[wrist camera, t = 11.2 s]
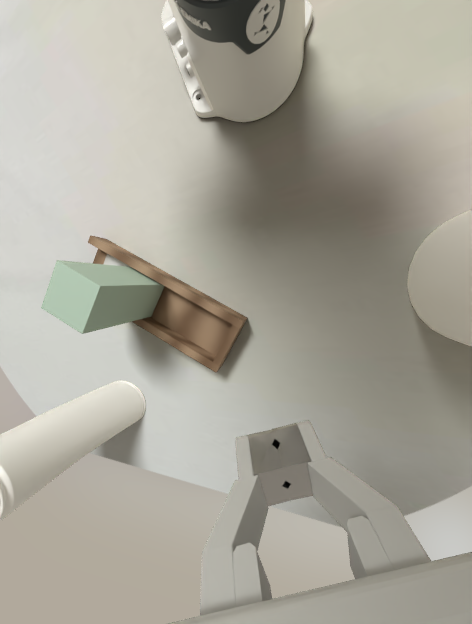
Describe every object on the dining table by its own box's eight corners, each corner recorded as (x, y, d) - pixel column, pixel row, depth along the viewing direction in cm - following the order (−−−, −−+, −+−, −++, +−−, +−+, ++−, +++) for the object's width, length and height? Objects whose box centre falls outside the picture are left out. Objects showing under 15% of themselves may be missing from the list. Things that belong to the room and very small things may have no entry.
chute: (247, 318, 39) (243, 321, 35) (222, 365, 41) (216, 372, 37) (106, 239, 43) (90, 235, 39) (89, 285, 44) (72, 285, 41)
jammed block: (165, 284, 40) (100, 285, 26) (151, 316, 41) (82, 333, 27) (135, 267, 41) (56, 260, 27) (122, 299, 42) (41, 307, 28)
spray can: (116, 440, 47) (-68, 608, 23) (81, 398, 48) (-134, 518, 24) (154, 406, 44) (-9, 555, 20) (116, 362, 45) (-86, 455, 21)
